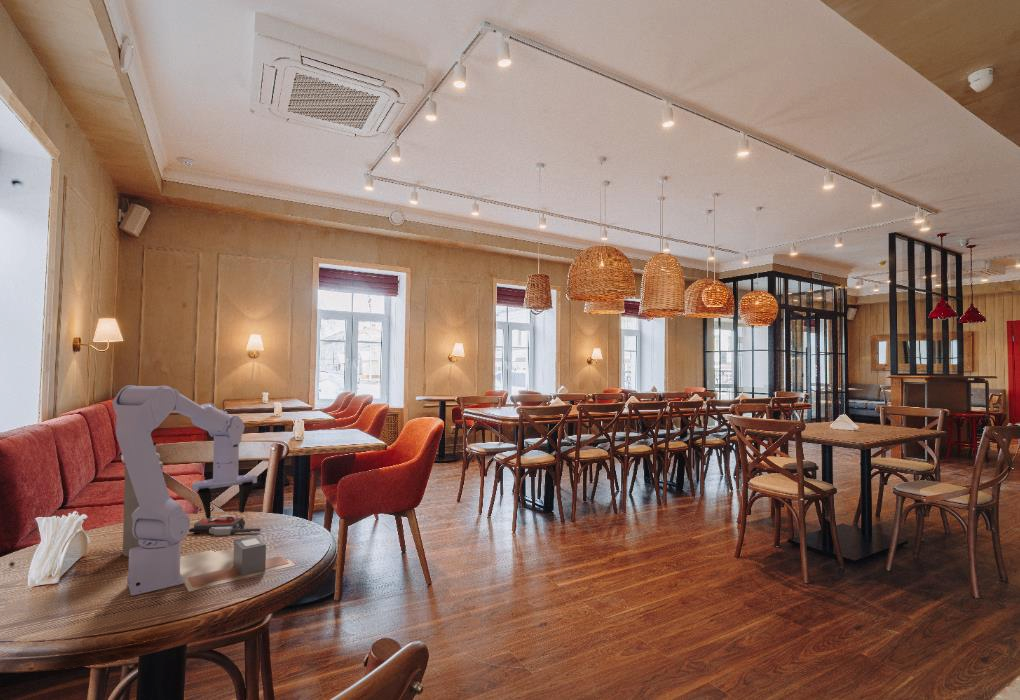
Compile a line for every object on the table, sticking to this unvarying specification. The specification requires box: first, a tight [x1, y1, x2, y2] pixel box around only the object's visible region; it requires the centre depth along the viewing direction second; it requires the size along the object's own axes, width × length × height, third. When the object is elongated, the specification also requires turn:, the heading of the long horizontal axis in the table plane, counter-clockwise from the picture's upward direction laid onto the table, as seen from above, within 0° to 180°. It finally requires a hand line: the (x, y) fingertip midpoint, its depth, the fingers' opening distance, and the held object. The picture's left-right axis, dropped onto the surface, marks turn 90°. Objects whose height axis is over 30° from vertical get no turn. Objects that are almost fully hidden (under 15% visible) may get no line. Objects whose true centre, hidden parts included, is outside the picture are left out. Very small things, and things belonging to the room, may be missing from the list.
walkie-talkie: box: [188, 514, 262, 536], centre depth 147 cm, size 9×4×20 cm
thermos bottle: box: [122, 440, 164, 558], centre depth 131 cm, size 8×8×28 cm
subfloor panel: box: [180, 545, 296, 593], centre depth 124 cm, size 22×24×1 cm
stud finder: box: [233, 535, 266, 576], centre depth 120 cm, size 5×8×6 cm, turn 41°
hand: (225, 514), depth 131 cm, fingers open, 7 cm apart
